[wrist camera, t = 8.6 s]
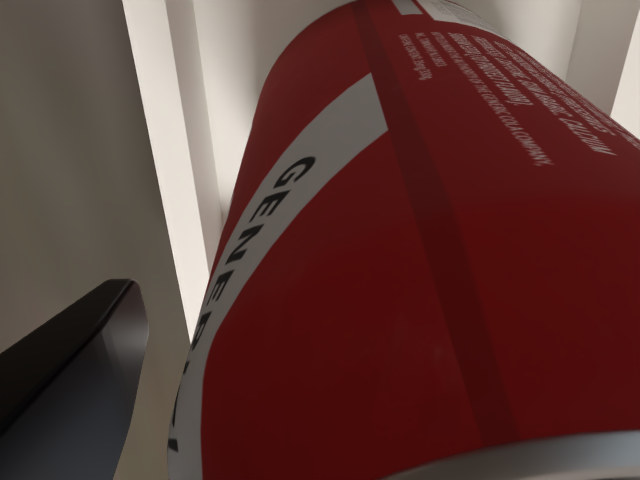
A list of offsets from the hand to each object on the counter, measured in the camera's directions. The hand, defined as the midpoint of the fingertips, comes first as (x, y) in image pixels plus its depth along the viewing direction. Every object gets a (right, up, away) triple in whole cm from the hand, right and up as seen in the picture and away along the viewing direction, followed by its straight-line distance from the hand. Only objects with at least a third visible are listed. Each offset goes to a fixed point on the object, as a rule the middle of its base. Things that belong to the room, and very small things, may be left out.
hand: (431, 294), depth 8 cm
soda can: (0, +4, +6) cm, 7 cm away
